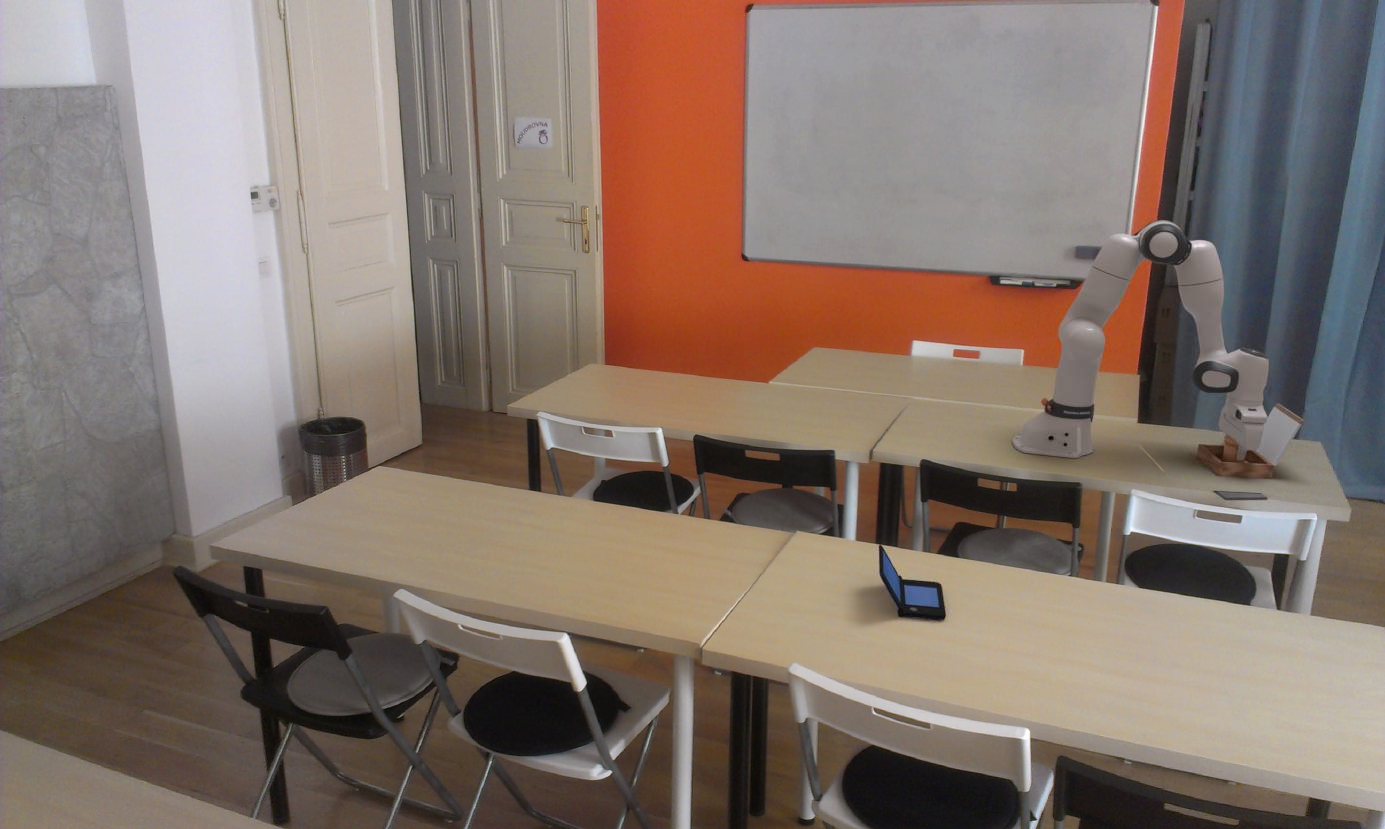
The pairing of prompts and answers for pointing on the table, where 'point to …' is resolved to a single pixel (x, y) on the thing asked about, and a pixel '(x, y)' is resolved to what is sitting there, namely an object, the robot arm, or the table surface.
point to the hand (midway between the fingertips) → (1234, 455)
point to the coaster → (1241, 495)
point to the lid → (1278, 433)
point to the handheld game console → (912, 592)
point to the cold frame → (1234, 463)
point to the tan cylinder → (1231, 451)
